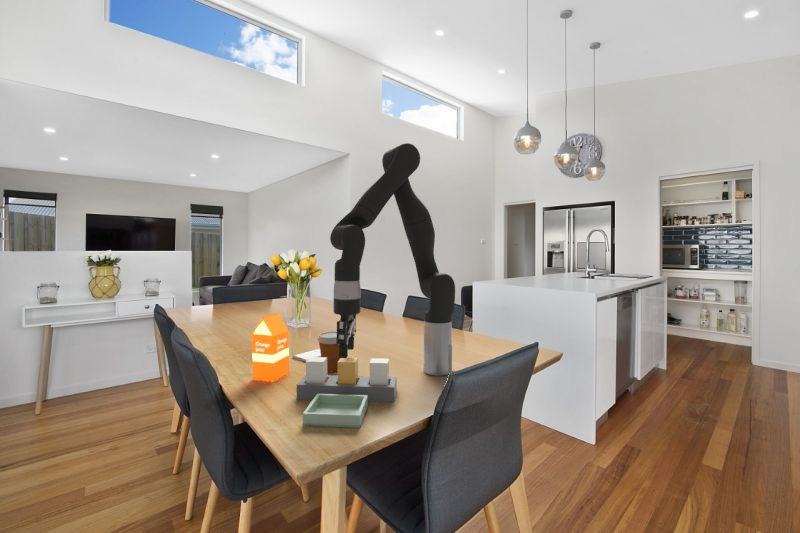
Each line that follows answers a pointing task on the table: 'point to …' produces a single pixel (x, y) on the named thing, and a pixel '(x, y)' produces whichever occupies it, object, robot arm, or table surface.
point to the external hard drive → (307, 355)
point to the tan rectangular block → (348, 371)
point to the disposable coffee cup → (330, 349)
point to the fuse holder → (349, 388)
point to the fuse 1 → (316, 370)
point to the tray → (336, 411)
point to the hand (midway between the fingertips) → (346, 353)
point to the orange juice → (270, 349)
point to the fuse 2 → (379, 371)
